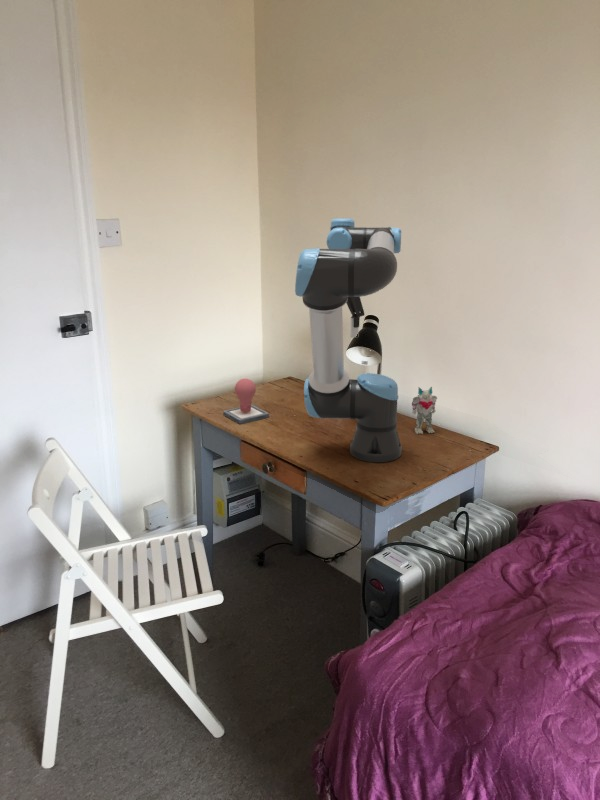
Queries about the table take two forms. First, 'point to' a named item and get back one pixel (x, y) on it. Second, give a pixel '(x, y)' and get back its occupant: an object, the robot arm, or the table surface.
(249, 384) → the light bulb
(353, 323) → the robot arm
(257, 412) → the holder
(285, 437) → the table surface
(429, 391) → the figurine
